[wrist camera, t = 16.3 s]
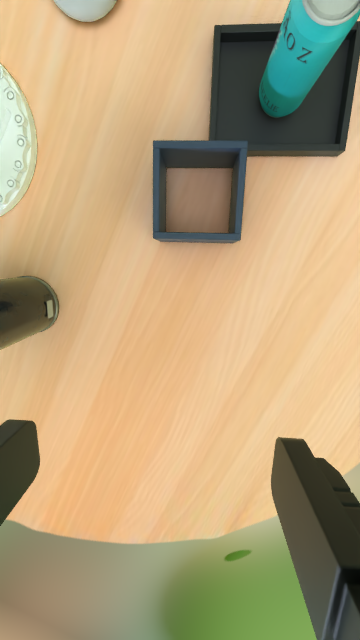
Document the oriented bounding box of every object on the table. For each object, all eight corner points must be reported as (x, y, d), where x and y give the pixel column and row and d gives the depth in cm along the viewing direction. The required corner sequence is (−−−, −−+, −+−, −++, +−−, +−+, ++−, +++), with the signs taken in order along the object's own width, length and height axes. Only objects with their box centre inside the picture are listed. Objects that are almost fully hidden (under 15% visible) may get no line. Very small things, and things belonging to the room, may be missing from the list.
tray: (208, 156, 37) (208, 150, 35) (213, 38, 34) (214, 24, 32) (337, 156, 36) (345, 150, 34) (355, 34, 33) (365, 20, 31)
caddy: (160, 241, 40) (152, 238, 33) (161, 161, 37) (153, 140, 31) (233, 243, 39) (240, 240, 33) (238, 161, 37) (248, 140, 30)
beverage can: (280, 60, 33) (345, -91, 19) (310, 96, 34) (394, -24, 20) (246, 99, 35) (282, -16, 20) (275, 133, 35) (330, 46, 21)
